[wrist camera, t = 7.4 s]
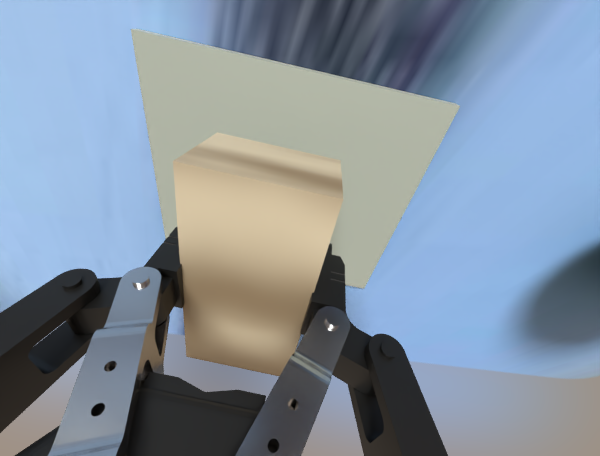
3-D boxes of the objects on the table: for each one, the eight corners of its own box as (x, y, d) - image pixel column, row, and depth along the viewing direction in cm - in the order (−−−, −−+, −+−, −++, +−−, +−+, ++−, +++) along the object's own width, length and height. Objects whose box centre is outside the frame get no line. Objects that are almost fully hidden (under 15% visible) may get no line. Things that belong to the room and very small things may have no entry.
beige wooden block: (217, 132, 11) (172, 161, 8) (340, 160, 11) (343, 199, 8) (213, 301, 16) (186, 356, 13) (295, 319, 16) (286, 377, 13)
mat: (170, 241, 22) (166, 246, 21) (138, 28, 13) (130, 29, 13) (363, 282, 22) (363, 288, 22) (455, 103, 13) (459, 106, 13)
